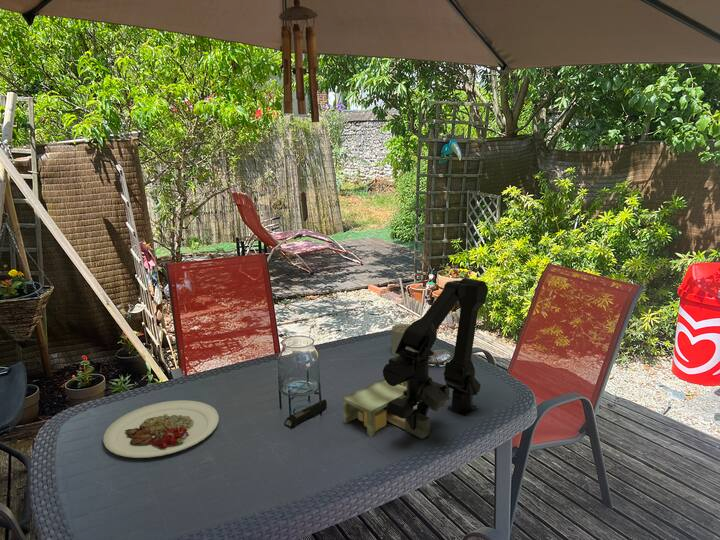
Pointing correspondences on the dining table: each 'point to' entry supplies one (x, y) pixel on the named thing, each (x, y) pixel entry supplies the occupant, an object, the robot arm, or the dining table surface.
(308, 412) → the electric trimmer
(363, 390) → the sage cubby
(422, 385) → the robot arm
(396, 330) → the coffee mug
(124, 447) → the plated food
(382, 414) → the ochre cube
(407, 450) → the dining table surface
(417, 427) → the crook tool
